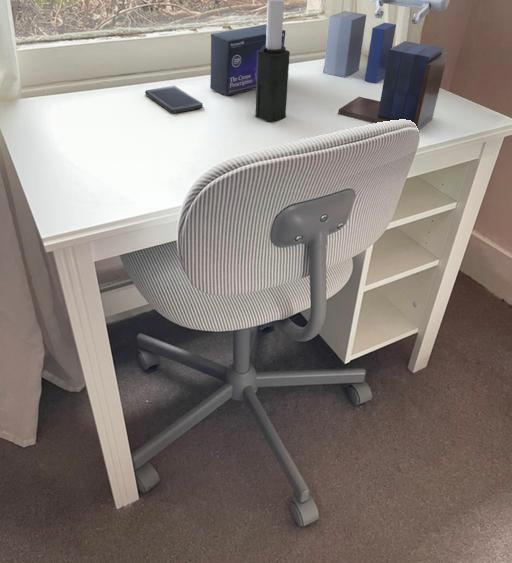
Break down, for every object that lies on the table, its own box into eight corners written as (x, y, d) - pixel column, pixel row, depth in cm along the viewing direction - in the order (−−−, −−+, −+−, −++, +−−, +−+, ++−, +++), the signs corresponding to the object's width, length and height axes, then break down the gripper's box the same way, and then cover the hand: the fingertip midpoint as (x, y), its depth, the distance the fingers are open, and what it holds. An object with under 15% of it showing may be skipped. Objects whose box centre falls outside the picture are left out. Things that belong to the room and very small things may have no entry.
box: (228, 97, 118) (228, 39, 111) (209, 89, 122) (208, 33, 114) (283, 82, 127) (286, 28, 120) (263, 75, 131) (265, 22, 124)
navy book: (387, 76, 133) (396, 24, 126) (375, 83, 129) (384, 29, 121) (375, 74, 135) (384, 22, 127) (364, 81, 130) (372, 27, 123)
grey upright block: (358, 69, 137) (366, 14, 129) (344, 77, 132) (352, 20, 124) (337, 65, 140) (344, 10, 132) (323, 72, 134) (329, 16, 126)
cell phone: (174, 88, 121) (173, 85, 121) (204, 107, 112) (204, 104, 112) (144, 93, 118) (143, 90, 117) (172, 113, 109) (172, 110, 108)
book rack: (432, 118, 112) (449, 47, 103) (415, 133, 105) (432, 58, 96) (358, 100, 119) (368, 33, 110) (337, 113, 112) (346, 42, 103)
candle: (252, 116, 110) (256, -23, 94) (269, 110, 113) (275, -26, 97) (271, 123, 107) (277, -19, 92) (287, 116, 110) (297, -22, 94)
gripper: (376, -46, 131) (353, 4, 130) (459, -37, 122) (435, 17, 121) (380, -27, 136) (359, 21, 136) (460, -18, 128) (437, 34, 127)
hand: (395, 19), depth 129 cm, fingers open, 8 cm apart
